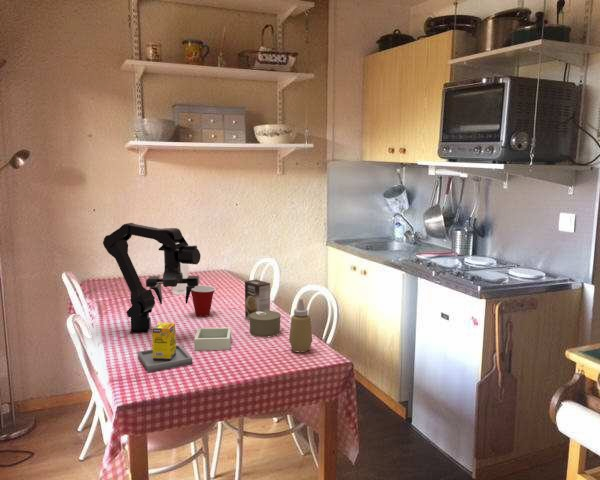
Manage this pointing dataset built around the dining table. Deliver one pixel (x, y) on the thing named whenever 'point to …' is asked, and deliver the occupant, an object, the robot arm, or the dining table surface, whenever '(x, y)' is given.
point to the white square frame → (213, 339)
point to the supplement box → (164, 341)
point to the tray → (156, 365)
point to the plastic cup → (202, 299)
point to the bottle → (181, 288)
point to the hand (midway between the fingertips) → (173, 303)
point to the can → (264, 323)
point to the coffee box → (256, 297)
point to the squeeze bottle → (300, 329)
